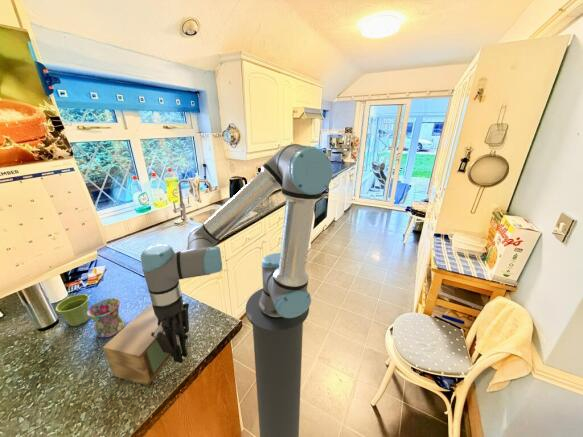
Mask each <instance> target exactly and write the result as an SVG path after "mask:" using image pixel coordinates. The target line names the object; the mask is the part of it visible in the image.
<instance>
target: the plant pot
mask: <svg viewBox="0 0 583 437" xmlns="http://www.w3.org/2000/svg"><path fill="white" fill-rule="evenodd" d="M89 300H90V296H89V295H88V294H85V293H81V294H76V295H72V296H69V297H67V298H65V299H64V300H62V301H60V302H58V304H57V305H56V306H55V312H57V313H59V314H60V315H61V316H62V317H63V318H64V319H65V321H66V322H67V323H68V325H69V326H70V327H77V326H79V325H81V324H84V323H86V322H88V320H90V319H91V318H90V317H88V316H87V311H88V309H89V308H90V306H89Z"/></svg>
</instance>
